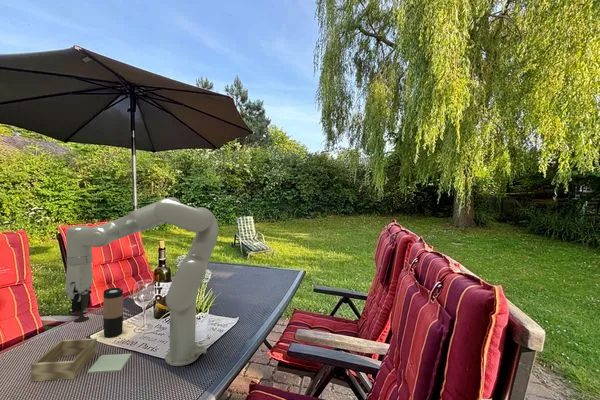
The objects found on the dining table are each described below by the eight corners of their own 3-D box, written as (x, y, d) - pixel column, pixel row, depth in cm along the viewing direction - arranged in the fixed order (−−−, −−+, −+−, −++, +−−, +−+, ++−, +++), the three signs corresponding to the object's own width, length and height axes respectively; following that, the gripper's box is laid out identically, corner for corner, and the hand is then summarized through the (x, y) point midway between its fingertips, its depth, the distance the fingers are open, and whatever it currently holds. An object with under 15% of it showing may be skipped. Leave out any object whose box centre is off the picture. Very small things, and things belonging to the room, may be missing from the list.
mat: (131, 355, 125) (131, 353, 125) (120, 371, 114) (120, 369, 114) (101, 356, 123) (101, 355, 123) (87, 373, 113) (87, 371, 113)
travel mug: (100, 339, 137) (100, 293, 136) (106, 331, 144) (106, 288, 143) (120, 337, 139) (120, 292, 138) (125, 329, 146) (125, 287, 145)
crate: (96, 353, 126) (96, 338, 126) (73, 379, 109) (73, 362, 109) (60, 355, 124) (60, 340, 123) (31, 382, 107) (31, 364, 107)
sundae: (88, 314, 121) (87, 276, 120) (95, 319, 117) (94, 279, 116) (68, 320, 116) (66, 280, 115) (73, 325, 112) (72, 283, 111)
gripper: (80, 255, 123) (82, 300, 124) (54, 266, 106) (56, 319, 107) (101, 254, 124) (102, 299, 125) (78, 265, 107) (80, 317, 108)
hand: (81, 308), depth 116 cm, fingers closed on sundae, 5 cm apart
